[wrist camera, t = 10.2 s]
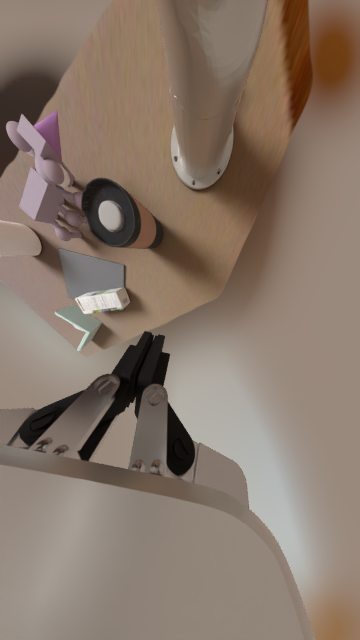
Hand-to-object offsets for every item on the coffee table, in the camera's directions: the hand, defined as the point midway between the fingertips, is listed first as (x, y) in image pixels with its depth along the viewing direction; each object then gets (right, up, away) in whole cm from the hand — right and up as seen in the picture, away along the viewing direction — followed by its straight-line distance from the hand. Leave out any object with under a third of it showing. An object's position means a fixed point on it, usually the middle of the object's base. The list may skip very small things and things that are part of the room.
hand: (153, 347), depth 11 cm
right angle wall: (-37, +1, +42) cm, 56 cm away
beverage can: (-43, +26, +28) cm, 58 cm away
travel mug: (-6, +26, +24) cm, 36 cm away
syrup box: (-16, +10, +30) cm, 35 cm away
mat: (-26, +15, +32) cm, 44 cm away
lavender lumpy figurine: (-23, +34, +22) cm, 46 cm away
